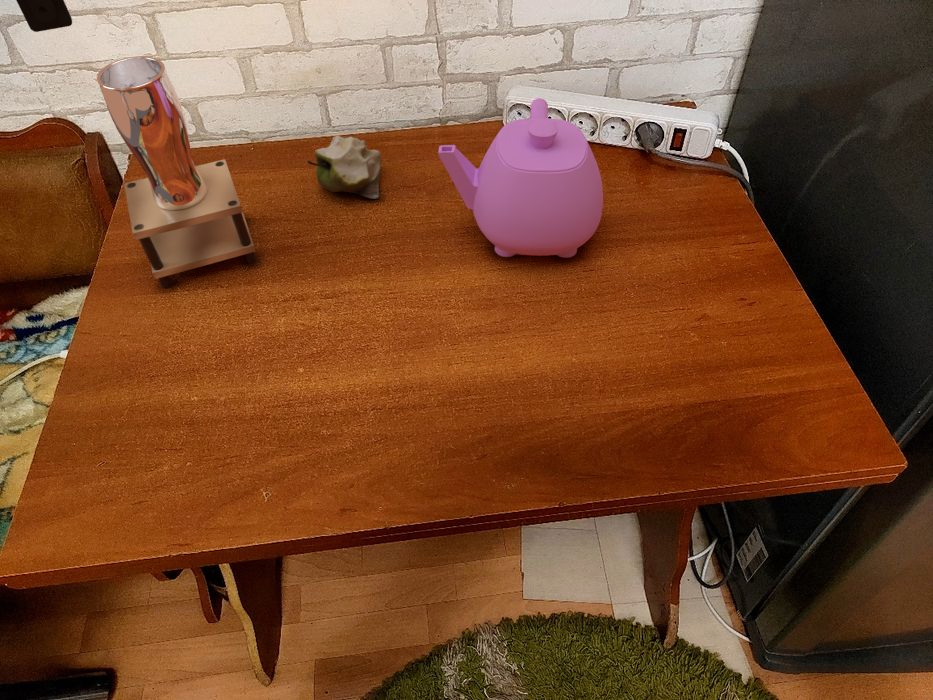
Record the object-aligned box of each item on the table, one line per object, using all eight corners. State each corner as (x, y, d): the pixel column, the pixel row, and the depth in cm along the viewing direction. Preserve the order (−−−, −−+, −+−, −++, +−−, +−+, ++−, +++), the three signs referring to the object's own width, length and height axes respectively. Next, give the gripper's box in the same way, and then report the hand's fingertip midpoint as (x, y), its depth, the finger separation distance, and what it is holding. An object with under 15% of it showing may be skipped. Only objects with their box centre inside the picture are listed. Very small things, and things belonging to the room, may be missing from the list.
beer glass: (137, 205, 79) (78, 82, 67) (175, 171, 83) (126, 50, 71) (187, 219, 77) (135, 95, 65) (223, 183, 81) (180, 61, 70)
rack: (161, 291, 82) (132, 233, 76) (151, 241, 88) (123, 183, 81) (260, 263, 85) (240, 205, 78) (244, 216, 91) (225, 158, 84)
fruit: (326, 217, 93) (303, 166, 87) (326, 181, 99) (304, 132, 94) (391, 199, 92) (372, 146, 87) (386, 164, 99) (369, 113, 93)
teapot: (447, 176, 96) (443, 74, 85) (590, 177, 96) (605, 75, 84) (438, 272, 84) (432, 169, 72) (603, 275, 83) (623, 170, 72)
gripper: (-116, -273, 50) (5, -25, 63) (-152, -230, 40) (2, 56, 53) (-5, -281, 52) (91, -39, 65) (-12, -241, 42) (104, 38, 55)
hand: (51, 4), depth 59 cm, fingers open, 9 cm apart
